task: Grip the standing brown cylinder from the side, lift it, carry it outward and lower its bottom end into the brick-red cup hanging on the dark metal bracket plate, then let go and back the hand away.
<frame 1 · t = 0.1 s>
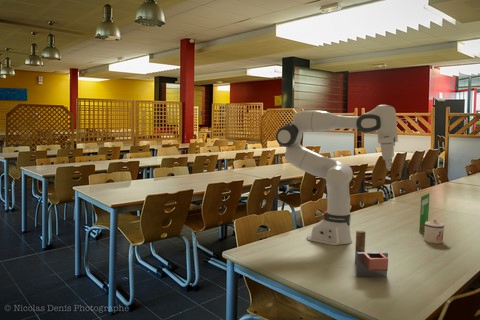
hand: (389, 167, 187), 39 cm above the table, tool pointing down, fingers open, 8 cm apart
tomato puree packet: (423, 230, 222), on the table
teacup with lid: (434, 241, 202), on the table
bracket: (374, 279, 152), on the table
brown cylinder: (359, 263, 168), on the table
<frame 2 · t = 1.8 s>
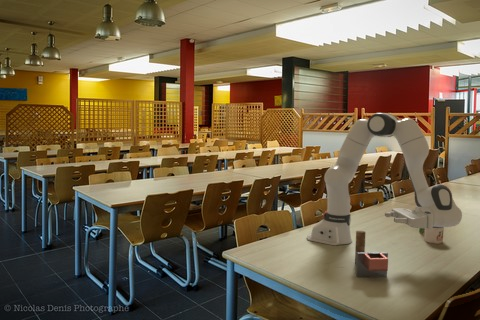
hand: (389, 217, 167), 20 cm above the table, tool horizontal, fingers open, 8 cm apart
nothing on the table moved.
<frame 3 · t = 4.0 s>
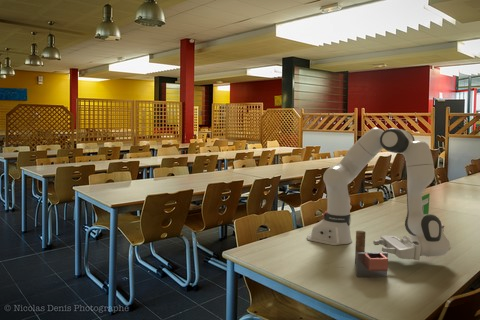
hand: (378, 246, 168), 8 cm above the table, tool horizontal, fingers open, 8 cm apart
nothing on the table moved.
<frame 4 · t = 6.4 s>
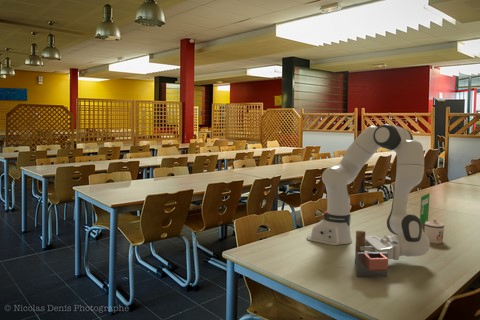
hand: (358, 246, 168), 8 cm above the table, tool horizontal, fingers closed on brown cylinder, 4 cm apart
brown cylinder: (359, 263, 168), on the table, touching gripper
everything else where it was.
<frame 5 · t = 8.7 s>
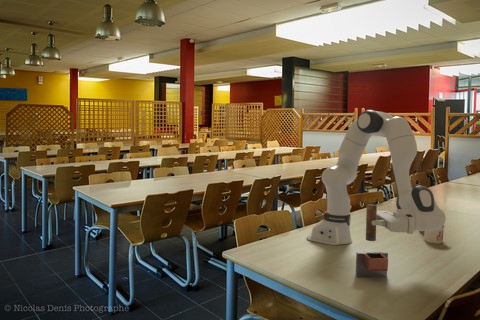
hand: (369, 220, 156), 21 cm above the table, tool horizontal, fingers closed on brown cylinder, 4 cm apart
brown cylinder: (370, 239, 157), point 14 cm above the table, touching gripper
everything else where it was.
when the fingers open (15 cm above the table, at t = 11.1 s): brown cylinder drops 1 cm, resting on bracket.
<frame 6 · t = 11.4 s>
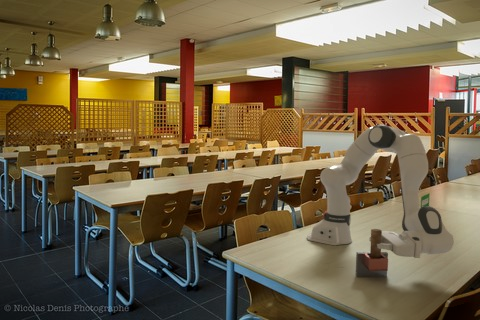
hand: (373, 242, 150), 15 cm above the table, tool horizontal, fingers open, 6 cm apart
brown cylinder: (375, 265, 151), point 6 cm above the table, touching bracket
everything else where it was.
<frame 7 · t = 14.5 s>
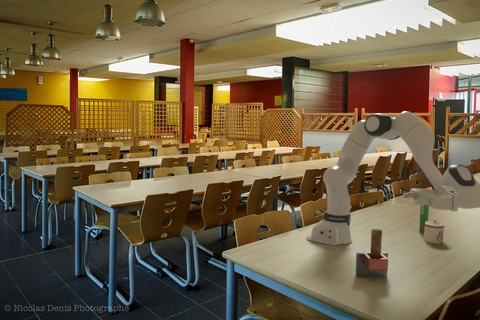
hand: (409, 198, 149), 32 cm above the table, tool horizontal, fingers open, 8 cm apart
nothing on the table moved.
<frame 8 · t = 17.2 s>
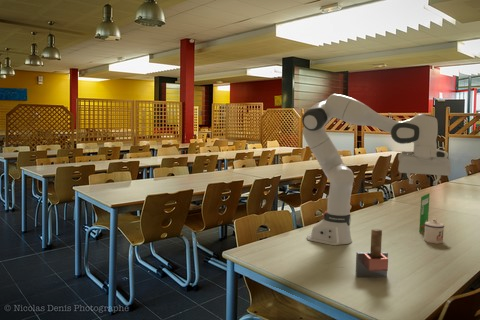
hand: (422, 184, 168), 34 cm above the table, tool pointing down, fingers open, 8 cm apart
nothing on the table moved.
at the end: brown cylinder 0.0 cm off-centre on the bracket, point 5.5 cm above the bracket's base; brown cylinder tilted 0°; the gripper is holding nothing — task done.
